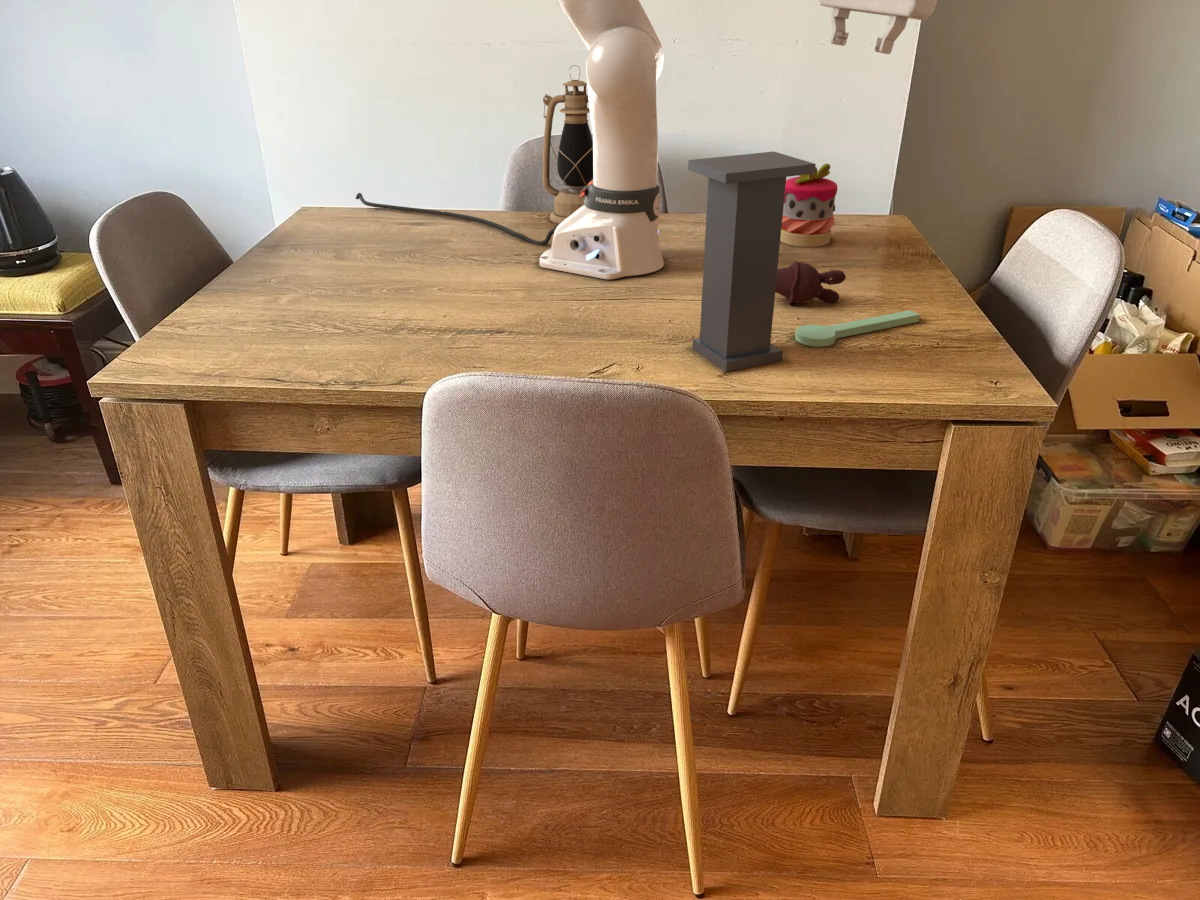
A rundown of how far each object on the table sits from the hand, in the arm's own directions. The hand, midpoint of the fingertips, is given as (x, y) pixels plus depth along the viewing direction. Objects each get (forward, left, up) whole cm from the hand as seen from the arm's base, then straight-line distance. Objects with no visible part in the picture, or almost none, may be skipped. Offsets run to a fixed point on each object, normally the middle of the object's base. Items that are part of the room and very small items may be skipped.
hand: (859, 48), depth 124 cm
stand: (-9, -27, -37) cm, 46 cm away
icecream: (-5, -3, -37) cm, 38 cm away
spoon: (+6, -11, -37) cm, 39 cm away
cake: (-9, +34, -37) cm, 51 cm away
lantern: (-57, +35, -37) cm, 77 cm away
